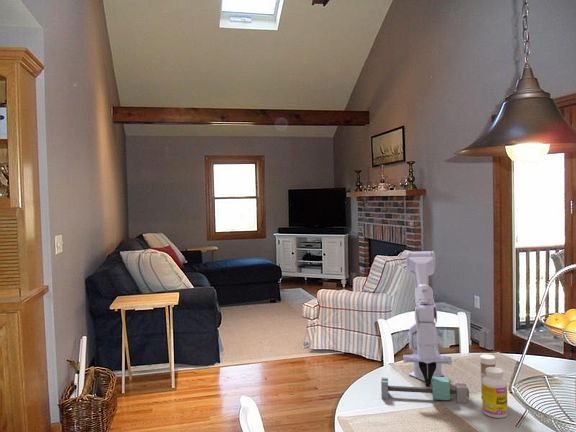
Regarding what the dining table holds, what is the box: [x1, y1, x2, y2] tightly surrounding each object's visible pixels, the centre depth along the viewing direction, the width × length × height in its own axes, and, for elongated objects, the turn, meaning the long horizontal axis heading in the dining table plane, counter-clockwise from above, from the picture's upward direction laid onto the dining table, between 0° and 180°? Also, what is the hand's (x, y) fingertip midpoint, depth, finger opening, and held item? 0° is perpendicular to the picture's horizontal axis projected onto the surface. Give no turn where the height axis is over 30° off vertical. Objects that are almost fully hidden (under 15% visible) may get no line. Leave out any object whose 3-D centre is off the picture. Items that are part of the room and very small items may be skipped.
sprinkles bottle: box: [479, 353, 497, 399], centre depth 146 cm, size 5×5×13 cm
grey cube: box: [455, 382, 470, 404], centre depth 146 cm, size 4×4×4 cm
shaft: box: [388, 385, 457, 395], centre depth 149 cm, size 23×1×1 cm, turn 77°
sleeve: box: [431, 376, 451, 401], centre depth 147 cm, size 5×4×6 cm
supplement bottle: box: [481, 366, 509, 419], centre depth 136 cm, size 7×7×13 cm
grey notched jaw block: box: [380, 377, 390, 400], centre depth 151 cm, size 2×5×5 cm, turn 167°
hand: (428, 385), depth 148 cm, fingers closed
